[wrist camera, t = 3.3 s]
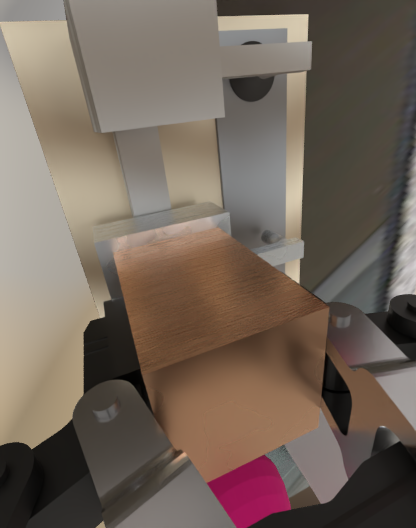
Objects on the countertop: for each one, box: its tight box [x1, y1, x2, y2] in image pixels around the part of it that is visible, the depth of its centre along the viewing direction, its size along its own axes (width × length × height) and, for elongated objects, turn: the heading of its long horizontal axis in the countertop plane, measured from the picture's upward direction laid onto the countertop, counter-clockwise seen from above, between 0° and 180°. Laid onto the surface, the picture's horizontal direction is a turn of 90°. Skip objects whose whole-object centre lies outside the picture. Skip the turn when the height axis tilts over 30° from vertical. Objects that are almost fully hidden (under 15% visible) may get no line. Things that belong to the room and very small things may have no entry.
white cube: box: [284, 408, 348, 504], centre depth 28 cm, size 6×6×6 cm
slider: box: [92, 201, 329, 483], centre depth 11 cm, size 5×8×8 cm, turn 96°
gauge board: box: [0, 0, 312, 318], centre depth 14 cm, size 20×12×8 cm, turn 6°
